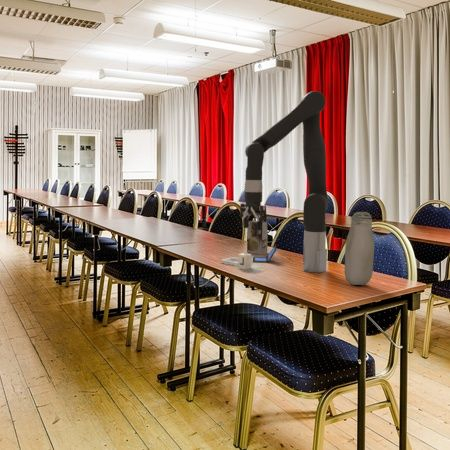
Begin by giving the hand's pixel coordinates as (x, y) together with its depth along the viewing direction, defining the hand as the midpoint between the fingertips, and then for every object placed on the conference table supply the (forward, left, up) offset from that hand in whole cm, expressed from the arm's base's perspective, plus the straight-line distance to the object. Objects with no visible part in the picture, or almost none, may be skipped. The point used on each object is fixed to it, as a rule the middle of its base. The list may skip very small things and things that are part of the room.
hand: (252, 228), depth 207 cm
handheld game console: (+8, -19, -18) cm, 27 cm away
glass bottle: (-45, -9, -18) cm, 49 cm away
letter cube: (+3, +1, -17) cm, 17 cm away
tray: (+13, -4, -18) cm, 22 cm away
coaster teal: (+3, +1, -18) cm, 18 cm away
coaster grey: (-4, +3, -18) cm, 19 cm away
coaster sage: (+2, -5, -18) cm, 19 cm away
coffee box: (+25, -35, -18) cm, 46 cm away
